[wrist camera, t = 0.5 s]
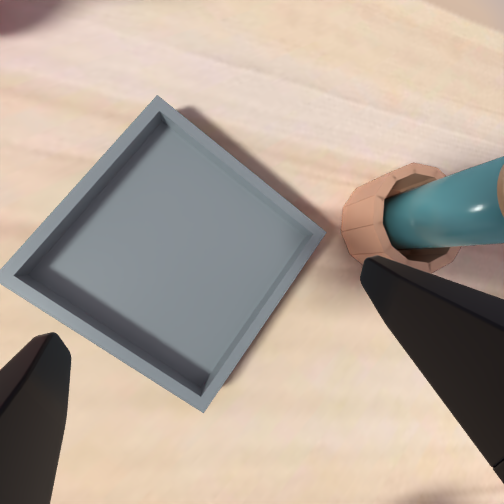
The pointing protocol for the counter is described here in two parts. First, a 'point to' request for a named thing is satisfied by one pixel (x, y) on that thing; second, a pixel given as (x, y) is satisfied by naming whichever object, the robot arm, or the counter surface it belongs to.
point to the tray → (166, 255)
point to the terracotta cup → (371, 220)
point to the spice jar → (449, 210)
